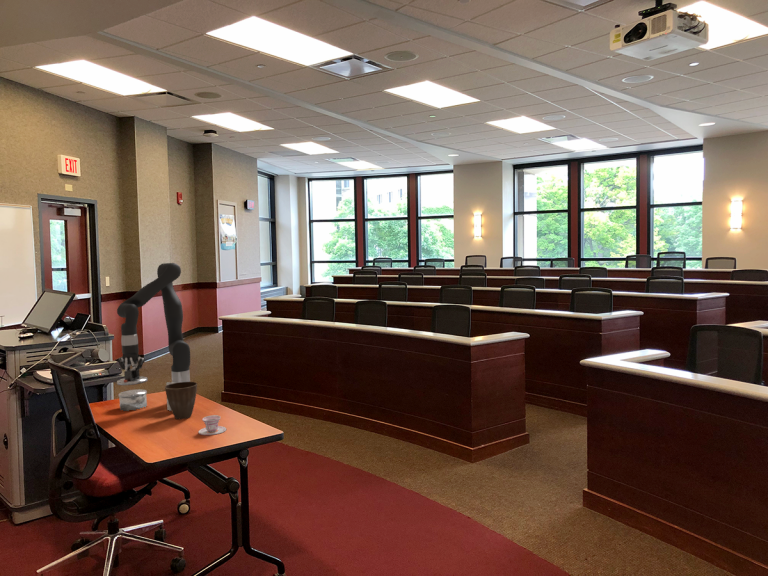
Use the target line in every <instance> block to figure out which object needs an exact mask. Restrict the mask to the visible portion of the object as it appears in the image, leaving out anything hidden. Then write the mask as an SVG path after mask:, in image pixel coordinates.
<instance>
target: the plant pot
mask: <svg viewBox="0 0 768 576" xmlns="http://www.w3.org/2000/svg"><path fill="white" fill-rule="evenodd" d="M164 391H165V393H166V394H165V396H166V395H167V396H166V400H167V399H168V402H169V405H170V408H171V410H172V411H171V412H172V415H173V417H174V419H175V420H185V419H189V418H191V417H192V414H193V411H194V408H195V403H196V400H197V399H196V398H197V391H198V383H197V382H195V381H190V382H179V383H173V384H169V385H165V386H164Z"/></svg>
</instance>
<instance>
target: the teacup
mask: <svg viewBox="0 0 768 576" xmlns="http://www.w3.org/2000/svg"><path fill="white" fill-rule="evenodd" d="M220 420H221V416H220V415H217V414H216V415H215V414H213V415H207V416H204V417H202V422H203V423H204V424H205V427H203V428H201V429H199V430H198V434H199V435H202V436H214V435H219V434H222V433H224V432H226V431H227V427H225V426H221V425H219V422H220Z"/></svg>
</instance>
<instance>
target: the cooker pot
mask: <svg viewBox="0 0 768 576" xmlns="http://www.w3.org/2000/svg"><path fill="white" fill-rule="evenodd" d="M147 392H148V391H147V390H146V389H139V388H138V389H129V390H126V391H125V390H124V391H121V392H119V393H118V397H119V398H118V399H119V411H122V410H123V411H122V412H130V411H129V410H134V411H137V410H136V409H140V408H143V407H145V408H147V407H148V401H147V399H148V398H147ZM146 406H147V407H146ZM143 409H144V408H143ZM140 410H141V409H140Z"/></svg>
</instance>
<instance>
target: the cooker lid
mask: <svg viewBox="0 0 768 576" xmlns="http://www.w3.org/2000/svg"><path fill="white" fill-rule="evenodd" d="M123 371H124V372H123V374H124V377H123V378H121V379H118V380H117V381H116V385H118V386H134V385H140V384H143V383H146V382H148V377H147V376H142V375H141V376H140V369H139V370H138V377H137V378H134V373H133V371H134V370H133V367H132V368H130V369H129V370H127V371H125V370H123Z"/></svg>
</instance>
